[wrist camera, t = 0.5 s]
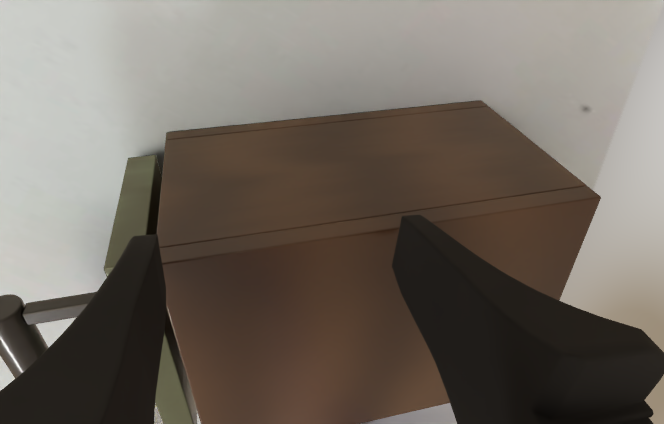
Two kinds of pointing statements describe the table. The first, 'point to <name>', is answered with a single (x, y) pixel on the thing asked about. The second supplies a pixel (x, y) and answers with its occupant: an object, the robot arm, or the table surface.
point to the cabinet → (343, 251)
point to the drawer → (131, 220)
